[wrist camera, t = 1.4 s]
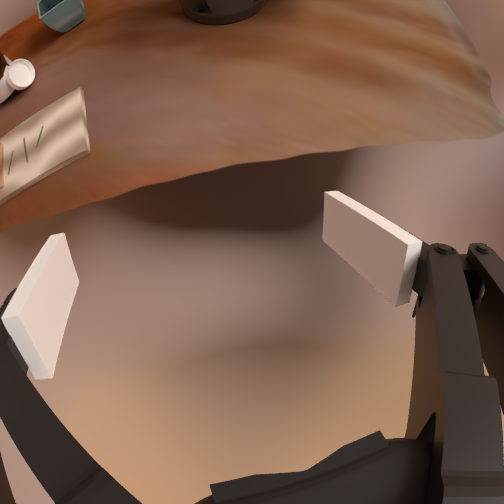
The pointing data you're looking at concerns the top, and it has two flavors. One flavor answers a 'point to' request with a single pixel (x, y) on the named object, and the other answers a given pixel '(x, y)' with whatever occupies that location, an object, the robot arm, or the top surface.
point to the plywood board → (44, 143)
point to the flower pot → (61, 13)
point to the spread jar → (14, 76)
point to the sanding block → (1, 166)
